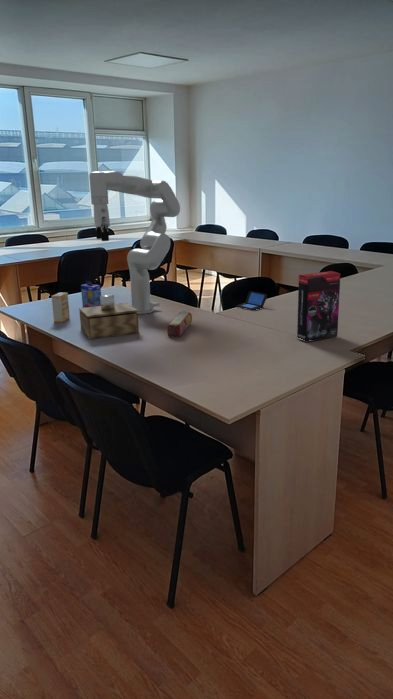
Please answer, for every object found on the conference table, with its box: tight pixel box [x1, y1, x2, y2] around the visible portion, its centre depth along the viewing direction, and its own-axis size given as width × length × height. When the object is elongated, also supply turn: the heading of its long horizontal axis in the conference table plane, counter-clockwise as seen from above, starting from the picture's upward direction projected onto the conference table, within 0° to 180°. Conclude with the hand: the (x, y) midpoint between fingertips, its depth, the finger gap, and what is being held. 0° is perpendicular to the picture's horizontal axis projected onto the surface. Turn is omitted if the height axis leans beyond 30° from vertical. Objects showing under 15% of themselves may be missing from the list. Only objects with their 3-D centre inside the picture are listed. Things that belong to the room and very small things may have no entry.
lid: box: [79, 303, 138, 318], centre depth 231 cm, size 22×17×1 cm
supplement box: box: [51, 292, 71, 323], centre depth 250 cm, size 8×5×13 cm, turn 168°
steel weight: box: [100, 293, 115, 311], centre depth 230 cm, size 6×6×6 cm
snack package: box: [166, 310, 193, 338], centre depth 232 cm, size 21×7×7 cm, turn 167°
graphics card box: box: [296, 270, 341, 341], centre depth 215 cm, size 17×7×27 cm, turn 117°
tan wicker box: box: [78, 310, 140, 340], centre depth 232 cm, size 22×17×9 cm
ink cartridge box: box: [80, 280, 102, 308], centre depth 273 cm, size 10×6×14 cm, turn 54°
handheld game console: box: [236, 290, 268, 311], centre depth 271 cm, size 12×11×7 cm
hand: (102, 239), depth 239 cm, fingers open, 9 cm apart
